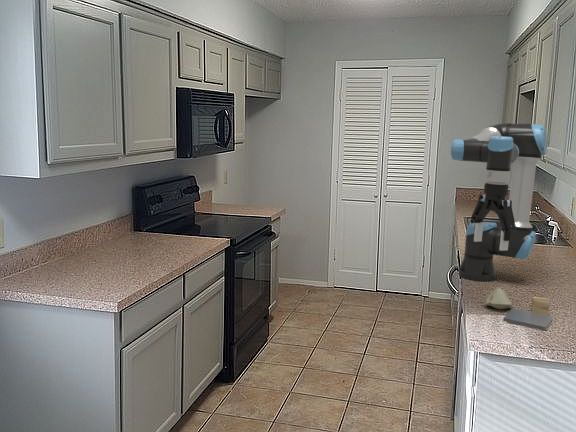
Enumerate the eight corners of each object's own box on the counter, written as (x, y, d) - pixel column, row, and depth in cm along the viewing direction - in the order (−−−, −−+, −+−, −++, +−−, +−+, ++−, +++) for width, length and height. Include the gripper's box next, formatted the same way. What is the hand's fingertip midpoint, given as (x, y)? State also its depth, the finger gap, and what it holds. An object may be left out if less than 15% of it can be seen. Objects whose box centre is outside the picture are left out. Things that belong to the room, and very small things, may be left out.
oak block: (530, 310, 202) (532, 296, 201) (546, 312, 200) (547, 298, 199) (532, 314, 197) (533, 300, 196) (547, 316, 196) (549, 302, 195)
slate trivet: (512, 311, 199) (512, 308, 199) (552, 319, 192) (553, 316, 192) (503, 321, 189) (503, 317, 188) (545, 330, 182) (546, 327, 181)
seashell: (477, 299, 204) (493, 286, 207) (491, 318, 204) (506, 306, 206) (491, 297, 197) (506, 284, 199) (505, 318, 196) (520, 304, 199)
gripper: (464, 178, 201) (458, 238, 204) (512, 187, 177) (505, 254, 181) (482, 179, 203) (476, 237, 206) (532, 187, 180) (525, 253, 183)
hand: (490, 245), depth 194 cm, fingers open, 13 cm apart
